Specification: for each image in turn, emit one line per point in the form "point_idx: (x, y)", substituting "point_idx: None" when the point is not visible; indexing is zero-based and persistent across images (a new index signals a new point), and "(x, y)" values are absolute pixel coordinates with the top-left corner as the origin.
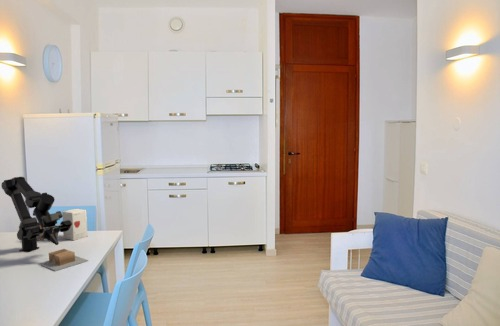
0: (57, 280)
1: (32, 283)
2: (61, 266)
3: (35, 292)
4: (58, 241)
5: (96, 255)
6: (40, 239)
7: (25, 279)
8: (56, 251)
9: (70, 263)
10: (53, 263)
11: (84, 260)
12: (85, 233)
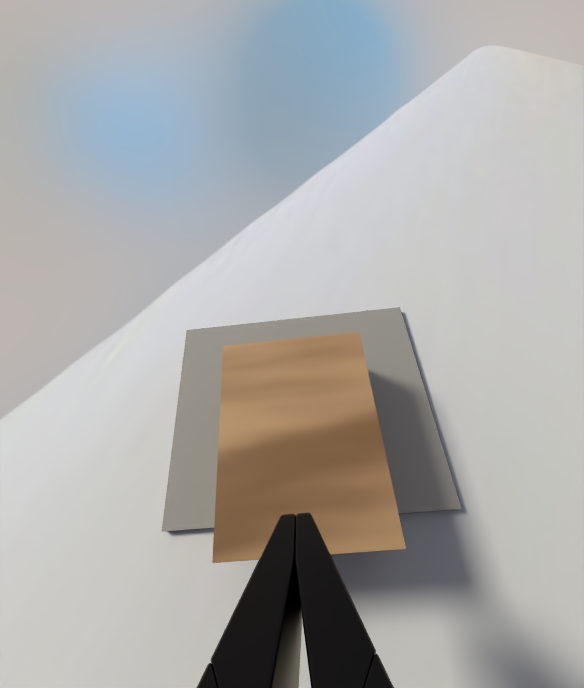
0: (421, 207)
1: (534, 239)
2: None
3: (523, 162)
4: (269, 540)
5: (87, 393)
6: None
7: (576, 308)
8: (317, 525)
9: None
10: None
11: (202, 340)
12: None
